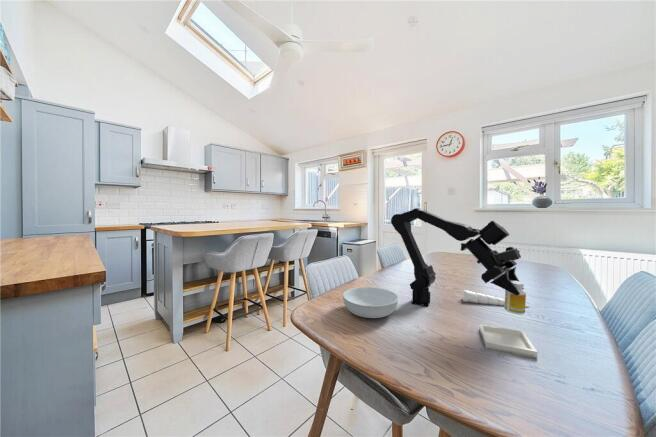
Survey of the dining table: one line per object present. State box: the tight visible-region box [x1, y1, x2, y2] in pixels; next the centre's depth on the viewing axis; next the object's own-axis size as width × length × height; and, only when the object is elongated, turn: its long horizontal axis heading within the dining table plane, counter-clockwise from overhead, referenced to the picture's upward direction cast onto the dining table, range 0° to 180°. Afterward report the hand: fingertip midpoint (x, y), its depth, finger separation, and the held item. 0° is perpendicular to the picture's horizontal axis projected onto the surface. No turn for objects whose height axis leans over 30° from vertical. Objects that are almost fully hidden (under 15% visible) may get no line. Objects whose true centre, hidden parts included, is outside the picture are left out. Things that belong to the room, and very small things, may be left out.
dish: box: [479, 323, 538, 359], centre depth 72 cm, size 12×12×2 cm
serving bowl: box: [342, 286, 399, 319], centre depth 93 cm, size 21×21×7 cm
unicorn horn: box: [462, 289, 531, 308], centre depth 100 cm, size 5×24×5 cm, turn 67°
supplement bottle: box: [504, 280, 527, 316], centre depth 80 cm, size 5×5×10 cm
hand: (520, 292), depth 79 cm, fingers closed on supplement bottle, 5 cm apart
